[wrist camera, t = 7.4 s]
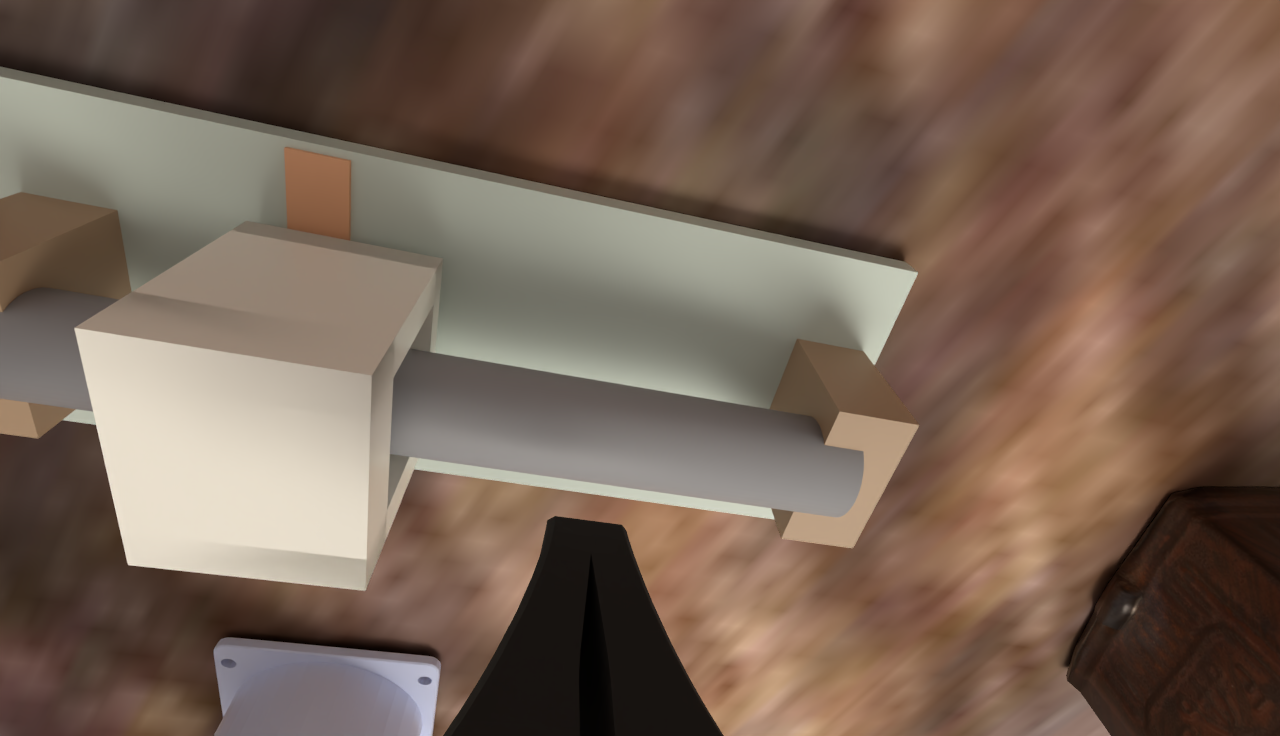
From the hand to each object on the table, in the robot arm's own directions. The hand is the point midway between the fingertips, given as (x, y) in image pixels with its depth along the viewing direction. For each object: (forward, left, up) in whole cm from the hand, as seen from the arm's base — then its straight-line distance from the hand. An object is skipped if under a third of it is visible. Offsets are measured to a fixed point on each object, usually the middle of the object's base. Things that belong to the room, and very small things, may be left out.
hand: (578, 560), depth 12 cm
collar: (0, +6, -6) cm, 9 cm away
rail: (0, +3, -8) cm, 8 cm away
